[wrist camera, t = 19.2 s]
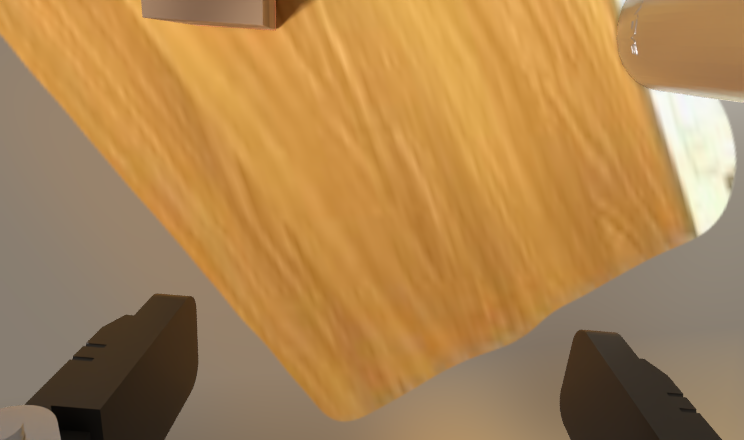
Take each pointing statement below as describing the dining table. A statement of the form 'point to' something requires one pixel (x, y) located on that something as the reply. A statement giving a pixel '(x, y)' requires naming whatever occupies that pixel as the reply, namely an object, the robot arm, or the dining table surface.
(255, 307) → the dining table surface
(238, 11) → the walnut block
